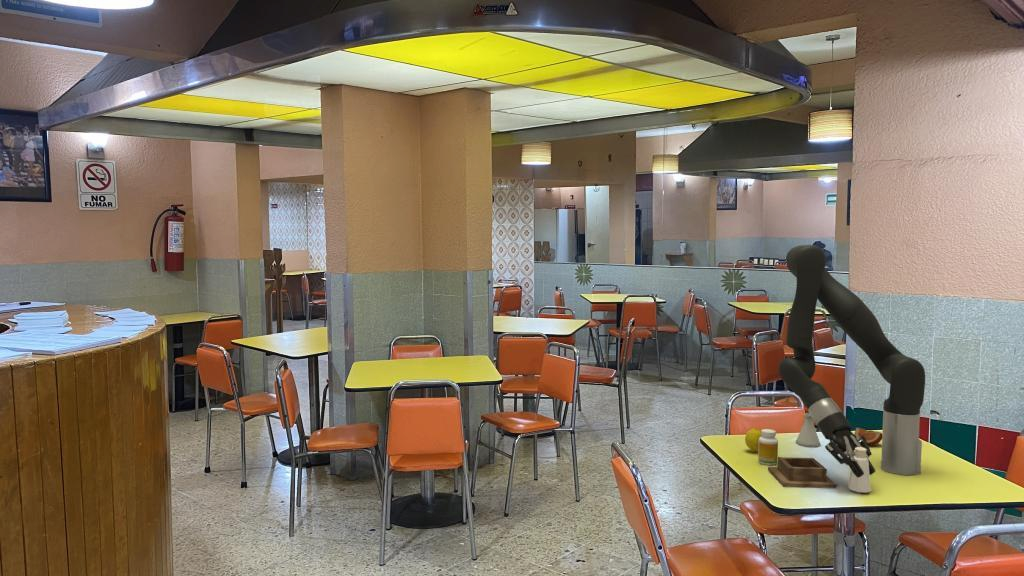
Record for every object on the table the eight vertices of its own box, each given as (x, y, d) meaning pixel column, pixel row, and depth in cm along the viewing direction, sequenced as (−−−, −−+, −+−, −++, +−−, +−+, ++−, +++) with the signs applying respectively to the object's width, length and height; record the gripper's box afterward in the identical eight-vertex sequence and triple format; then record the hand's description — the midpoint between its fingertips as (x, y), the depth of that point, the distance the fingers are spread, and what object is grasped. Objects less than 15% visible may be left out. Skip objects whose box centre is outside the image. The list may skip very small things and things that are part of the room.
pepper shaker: (872, 488, 187) (873, 447, 186) (869, 494, 183) (870, 452, 182) (849, 484, 190) (851, 444, 190) (846, 490, 186) (847, 449, 185)
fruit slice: (850, 443, 233) (851, 428, 232) (862, 440, 236) (862, 425, 236) (875, 449, 226) (875, 433, 225) (886, 446, 229) (887, 430, 229)
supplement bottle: (778, 466, 207) (779, 433, 207) (759, 465, 208) (760, 432, 208) (775, 460, 213) (776, 429, 212) (756, 459, 214) (757, 427, 213)
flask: (791, 442, 233) (792, 412, 232) (809, 440, 235) (810, 411, 234) (806, 448, 226) (807, 417, 225) (825, 446, 228) (826, 416, 227)
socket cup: (817, 471, 203) (818, 456, 202) (836, 488, 189) (837, 471, 188) (767, 470, 204) (768, 454, 203) (783, 486, 190) (783, 470, 189)
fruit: (744, 448, 225) (745, 423, 224) (762, 450, 223) (763, 425, 223) (745, 453, 220) (745, 428, 219) (764, 455, 218) (764, 429, 218)
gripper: (819, 413, 189) (857, 471, 179) (855, 408, 195) (894, 463, 185) (802, 428, 194) (838, 485, 184) (838, 422, 200) (875, 477, 190)
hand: (866, 474), depth 185 cm, fingers closed on pepper shaker, 3 cm apart
